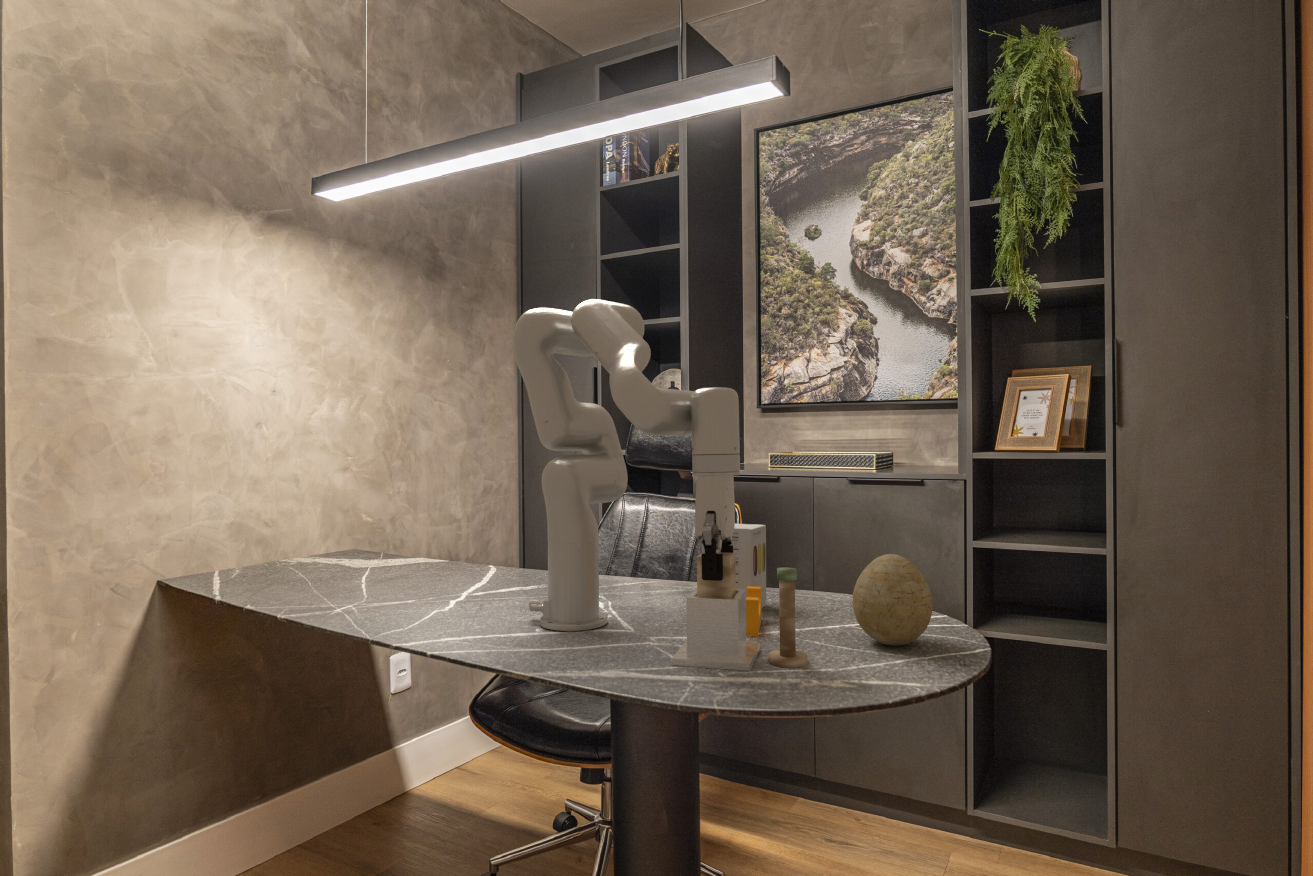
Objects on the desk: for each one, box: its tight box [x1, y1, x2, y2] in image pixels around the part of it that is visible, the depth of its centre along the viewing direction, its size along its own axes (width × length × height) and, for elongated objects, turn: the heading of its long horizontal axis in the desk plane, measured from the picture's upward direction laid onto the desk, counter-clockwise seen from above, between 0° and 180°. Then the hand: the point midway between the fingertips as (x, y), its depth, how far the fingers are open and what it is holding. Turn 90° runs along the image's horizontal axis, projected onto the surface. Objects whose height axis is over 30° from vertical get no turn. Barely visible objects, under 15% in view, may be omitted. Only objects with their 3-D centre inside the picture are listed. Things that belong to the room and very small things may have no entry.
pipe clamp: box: [746, 586, 762, 637], centre depth 137 cm, size 12×4×6 cm, turn 169°
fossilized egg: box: [852, 553, 934, 647], centre depth 125 cm, size 13×13×15 cm
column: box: [696, 552, 736, 598], centre depth 118 cm, size 6×6×15 cm
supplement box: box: [732, 523, 767, 610], centre depth 153 cm, size 10×9×17 cm
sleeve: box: [670, 587, 761, 672], centre depth 118 cm, size 12×12×10 cm
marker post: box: [767, 567, 809, 669], centre depth 115 cm, size 6×6×14 cm
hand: (718, 574), depth 118 cm, fingers open, 9 cm apart
